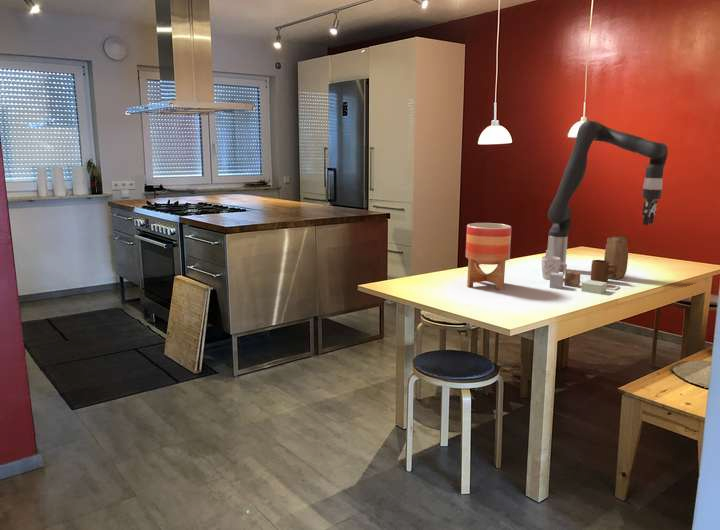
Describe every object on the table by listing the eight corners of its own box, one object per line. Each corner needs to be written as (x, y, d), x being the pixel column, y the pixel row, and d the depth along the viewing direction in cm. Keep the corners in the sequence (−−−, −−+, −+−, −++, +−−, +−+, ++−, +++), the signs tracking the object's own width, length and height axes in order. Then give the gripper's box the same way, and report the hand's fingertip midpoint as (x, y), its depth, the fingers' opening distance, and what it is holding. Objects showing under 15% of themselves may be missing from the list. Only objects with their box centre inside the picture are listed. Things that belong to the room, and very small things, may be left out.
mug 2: (620, 283, 265) (622, 263, 264) (611, 285, 261) (613, 264, 259) (595, 278, 275) (597, 259, 273) (587, 280, 270) (588, 260, 268)
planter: (482, 292, 245) (486, 229, 240) (454, 282, 262) (457, 223, 257) (518, 287, 254) (522, 227, 249) (488, 278, 271) (491, 221, 266)
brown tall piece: (614, 280, 271) (618, 238, 267) (600, 277, 277) (604, 236, 273) (628, 278, 277) (632, 236, 273) (614, 275, 283) (618, 234, 279)
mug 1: (566, 278, 274) (568, 257, 272) (564, 281, 267) (566, 260, 265) (541, 275, 279) (543, 255, 277) (539, 279, 271) (540, 258, 270)
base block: (581, 291, 249) (581, 282, 248) (587, 288, 255) (588, 279, 254) (600, 294, 244) (601, 285, 243) (606, 291, 250) (607, 282, 249)
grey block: (549, 287, 255) (550, 274, 253) (551, 285, 259) (552, 272, 258) (561, 289, 253) (562, 275, 251) (562, 286, 257) (563, 273, 256)
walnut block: (564, 285, 259) (565, 272, 258) (568, 283, 263) (569, 271, 262) (575, 287, 256) (576, 274, 255) (579, 285, 260) (580, 272, 258)
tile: (598, 287, 255) (598, 285, 255) (603, 285, 260) (603, 283, 260) (614, 290, 251) (615, 288, 251) (619, 287, 256) (620, 285, 256)
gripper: (647, 187, 266) (643, 222, 269) (639, 188, 255) (634, 224, 258) (665, 188, 261) (660, 223, 264) (657, 189, 250) (653, 226, 253)
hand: (648, 224), depth 261 cm, fingers open, 8 cm apart
